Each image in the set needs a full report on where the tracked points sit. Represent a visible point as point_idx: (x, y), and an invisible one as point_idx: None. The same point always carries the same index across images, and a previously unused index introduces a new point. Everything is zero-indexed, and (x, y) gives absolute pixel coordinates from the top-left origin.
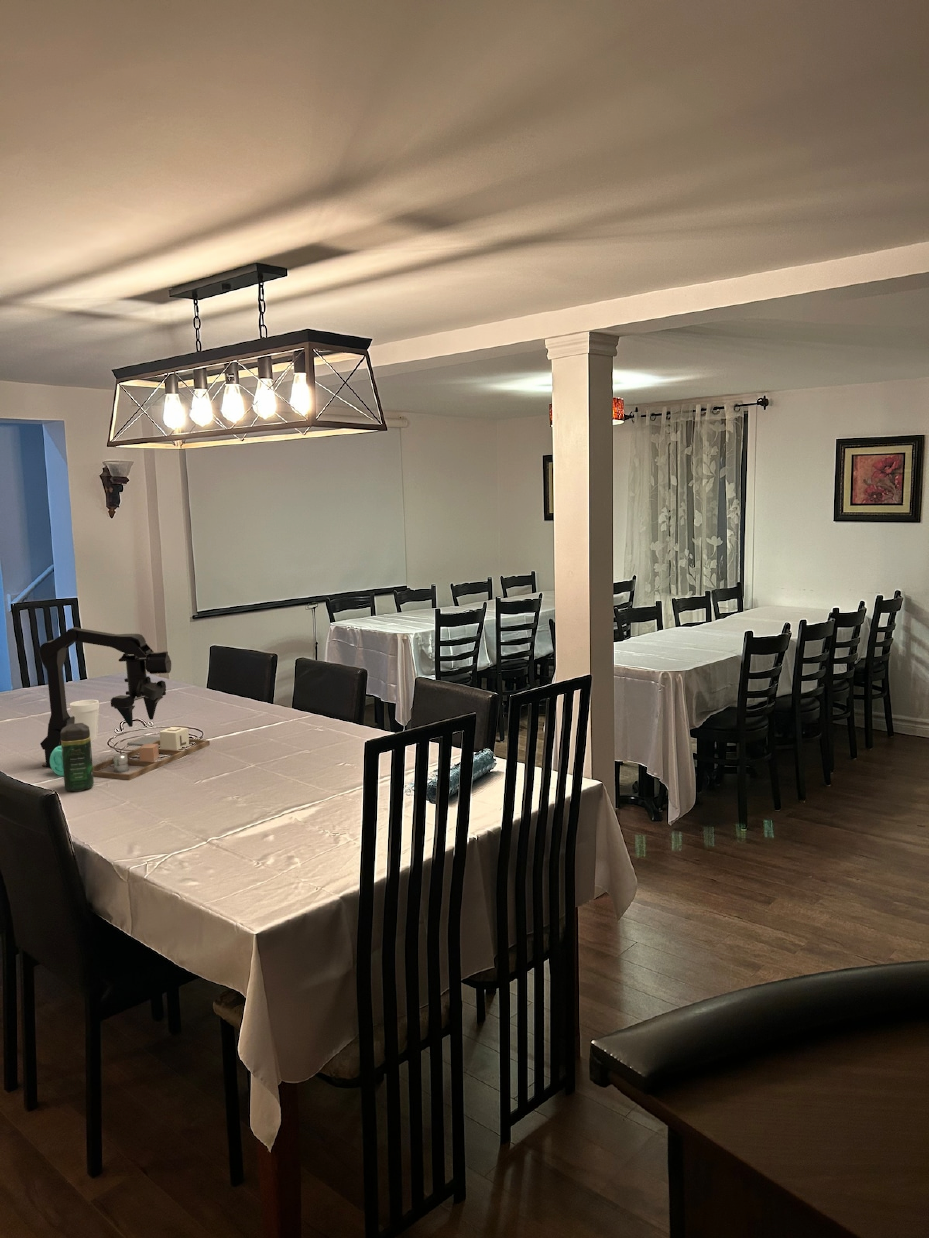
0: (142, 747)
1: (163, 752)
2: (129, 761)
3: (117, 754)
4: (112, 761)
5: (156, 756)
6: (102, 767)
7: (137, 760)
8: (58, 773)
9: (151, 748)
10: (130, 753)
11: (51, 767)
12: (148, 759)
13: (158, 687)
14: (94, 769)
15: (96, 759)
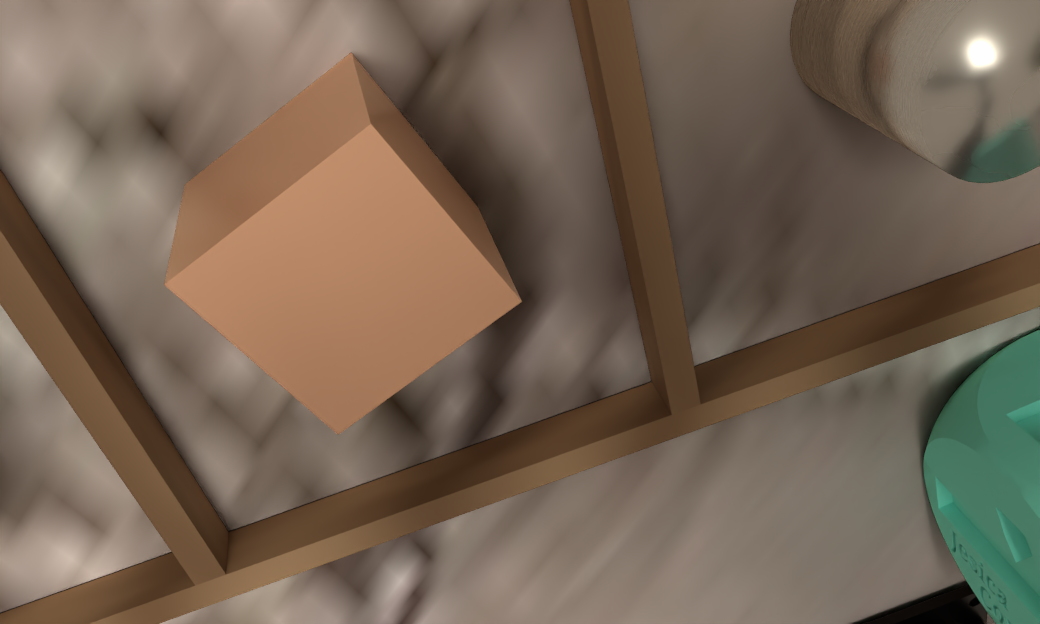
0: (466, 290)
1: (50, 270)
2: (657, 197)
3: (991, 163)
4: (717, 380)
5: (260, 138)
6: (860, 312)
7: (626, 91)
8: None
9: (390, 139)
10: (425, 491)
11: None
12: (408, 124)
13: None
14: (982, 278)
15: (661, 602)
